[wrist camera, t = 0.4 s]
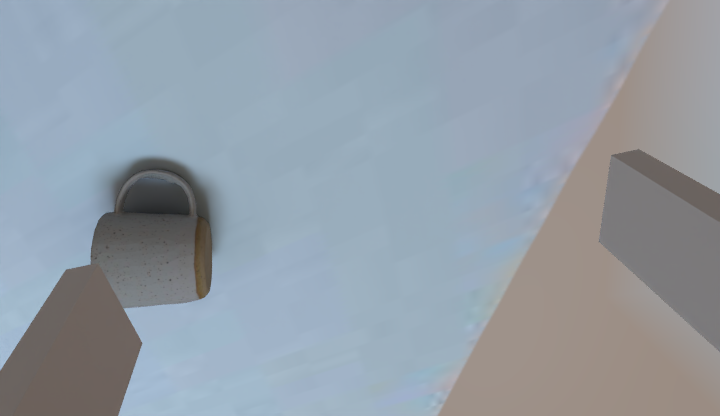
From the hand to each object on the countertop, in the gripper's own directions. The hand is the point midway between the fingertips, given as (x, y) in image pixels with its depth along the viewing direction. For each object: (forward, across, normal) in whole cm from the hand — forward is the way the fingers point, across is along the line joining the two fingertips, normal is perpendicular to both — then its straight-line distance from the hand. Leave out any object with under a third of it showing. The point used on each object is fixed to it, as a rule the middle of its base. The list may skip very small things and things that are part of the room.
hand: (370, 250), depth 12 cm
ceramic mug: (+27, -16, -12) cm, 34 cm away
